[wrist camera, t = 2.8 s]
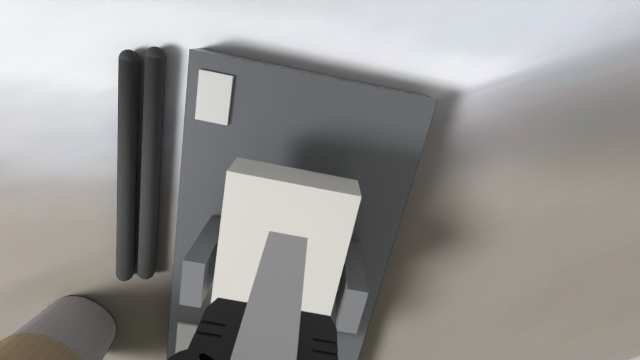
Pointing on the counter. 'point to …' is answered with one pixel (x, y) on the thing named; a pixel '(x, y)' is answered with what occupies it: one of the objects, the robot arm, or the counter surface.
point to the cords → (149, 160)
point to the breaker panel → (296, 152)
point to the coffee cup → (63, 333)
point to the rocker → (284, 227)
